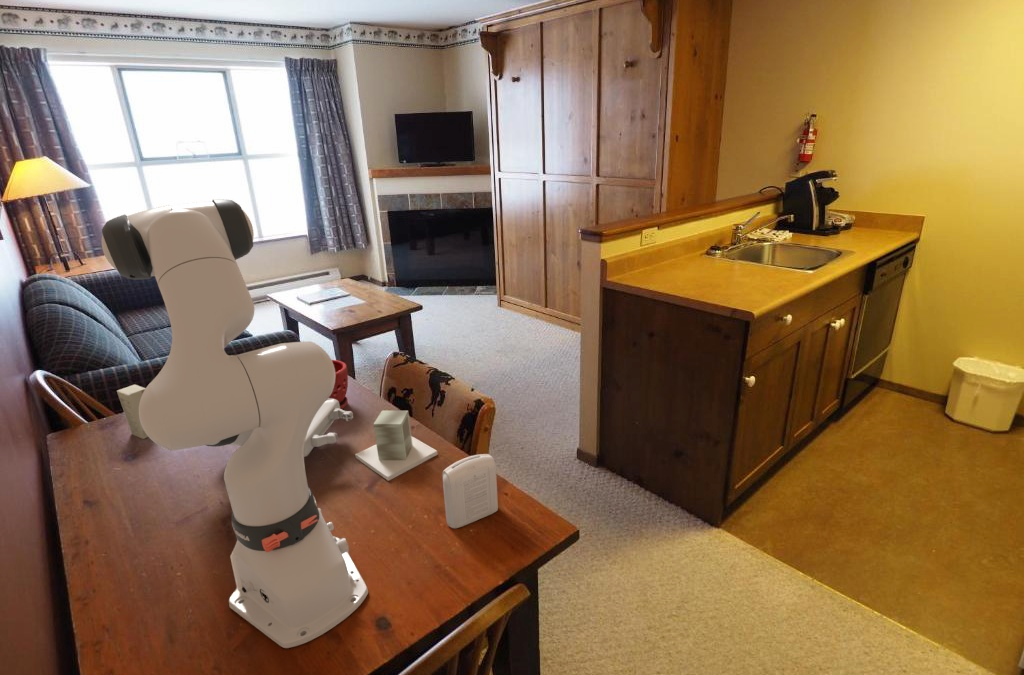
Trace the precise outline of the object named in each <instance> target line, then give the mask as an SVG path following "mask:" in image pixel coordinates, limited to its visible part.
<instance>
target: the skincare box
mask: <svg viewBox="0 0 1024 675" xmlns="http://www.w3.org/2000/svg"><path fill="white" fill-rule="evenodd" d="M145 389H146V387H143V386H140V385H138V384H132V385H129V386H127V387H123V388H120V389H118V390H116V392H117V396H118V400H119V401H120V405H121V407H122V409H123V413H124V416H125V418H126V422H127V423H128V427H129V430H130V433H131V435H133V436H135V437H137V438H140V439H142V440H144V439H147V438H149V437H148V436H147V434H146V433H145V431H144V430H143V428H142V426H141V423H140V419H139V403H140V399H141V397H142V394H143V392H144V390H145Z"/></svg>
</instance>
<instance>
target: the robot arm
mask: <svg viewBox="0 0 1024 675" xmlns="http://www.w3.org/2000/svg"><path fill="white" fill-rule="evenodd" d="M101 233H102V235H101V247H102V248H101V249H102V252H103V255H104V257H105V259H106V260H107V262H108V263H109V265H110V266H111V267H112V268H114V269H115V270H116V271H117V272H118V274H119V275H120V276H121V277H125V278H126V279H128V280H135V281H137V280H150V279H152V277H155V280H156V282H157V286H158V289H159V291H160V294H161V297H162V299H163V302H164V305H165V306H164V307H165V309H166V311H167V315H168V319H169V323H170V327H171V328H170V329H171V336H172V337H171V347H170V351H169V354H168V357H167V359H166V361H165V363H164V365H163V367H162V368H161V370H160V371H159V372H158V374H157V375H156V376H155V377H154V378H153V379H152V380H151V381H150V382H149V384H148V385H147V386H146V387H145V388H146V389H145V390H144V392H143V394H142V397H141V399H140V403H139V419H140V423H141V426H142V428H143V430H144V431H145V433H146V434H147V436H148V437H147V438H149V439H150V441H152V442H153V443H155V444H156V445H158V446H159V447H161V448H162V449H166V450H167V451H170V452H171V451H178V450H179V451H180V450H186V449H193V448H197V447H203V446H207V447H215V448H216V447H224V446H235V447H236V446H237V447H238V448H237V449H236V450H235V451H234V452H233V453H232V454H231V456H230V457H229V459H228V460H227V463H226V466H225V468H224V473H223V481H224V483H225V484H224V486H225V488H226V492H227V495H228V498H229V499H228V500H229V504H230V506H231V509H232V510H231V514H230V515H231V517H230V518H231V525H232V526H231V527H232V530H233V531H234V534H235V537H236V542H235V545H234V547H233V550H232V551H231V554H230V556H229V557H230V561H231V566H232V571H233V576H234V581H235V586H236V588H235V590H234V591H233V593H231V595H230V597H229V599H228V604H229V605H228V606H229V608H230V609H231V610H232V611H234V612H235V613H237V614H238V615H239V616H240V617H242V618H243V619H244V620H246V621H247V622H248V623H249V624H250V625H252V626H253V627H255V628H256V629H257V630H259V631H260V632H261V633H262V634H264V635H265V636H266V637H267V638H269V639H271V640H272V641H273V642H274V643H276V644H277V645H278V646H279V647H282V648H284V649H289V648H295V647H298V646H301V645H304V644H306V643H308V642H310V641H313V640H314V639H316V638H318V637H320V636H322V635H324V634H325V633H327V632H329V631H330V630H331V629H333V628H335V627H336V626H337V625H339V624H340V623H341V622H343V621H344V620H346V619H347V618H348V617H349V616H350V615H351V614H353V613H354V612H355V611H356V610H357V609H358V608H359V607H360V606H361V604H362V603H363V602H364V601H365V599H366V597H367V595H369V590H368V586H367V585H366V582H365V579H363V577H362V574H360V572H359V570H358V567H357V566H356V565H355V562H354V561H353V559H352V558H351V556H350V553H349V551H350V549H349V548H350V546H349V544H348V541H347V540H346V537H342V538H339V537H338V536H337V537H336V536H335V535H333V533H332V532H331V531H333V530H334V529H335V526H334V523H333V522H332V521H329V522H326V520H325V518H324V515H323V513H322V509H321V508H319V507H318V503H317V501H316V498H315V496H314V494H313V492H312V488H310V486H309V485H308V479H307V474H306V473H307V472H306V466H305V457H308V456H309V454H310V453H311V452H312V451H313V449H314V448H315V447H320V446H324V445H328V444H335V443H337V440H338V439H339V437H338V434H337V433H336V432H328V433H327V434H325V433H326V432H327V431H328V430H329V428H330V427H331V426H332V424H333V423H334V422H335V420H339V419H343V422H351V421H352V420H353V418H354V412H353V411H351V410H343V409H340V405H339V401H338V400H336V399H332V398H329V397H330V395H331V393H332V391H333V389H334V385H335V378H336V375H335V368H334V365H333V362H332V360H333V359H332V358H331V356H330V355H329V354H328V352H327V351H326V350H325V349H324V348H322V346H320V345H318V344H317V343H315V342H313V341H292V342H283V343H277V344H274V345H273V344H272V345H269V346H265V347H262V348H257V349H254V350H251V351H250V350H249V351H247V352H243V353H240V354H231V355H229V354H227V353H226V351H225V348H226V347H227V346H228V345H229V344H230V343H231V342H232V341H233V340H235V339H236V338H238V337H239V336H240V335H242V333H243V332H244V331H245V330H246V329H247V328H248V327H249V326H250V324H251V323H252V321H253V318H254V316H255V303H254V301H253V298H252V297H251V294H250V291H249V289H248V287H247V284H246V282H245V280H244V277H243V275H242V272H241V270H240V267H239V265H238V262H237V261H236V260H239V259H241V258H243V257H245V256H246V255H249V253H250V252H251V250H252V248H253V247H254V235H255V234H254V227H253V224H252V221H251V219H250V218H249V216H248V215H247V213H246V211H244V209H243V208H242V207H241V205H240V204H239V203H237V202H236V201H234V200H233V199H219V198H218V199H212V201H201V202H199V201H198V202H190V203H182V204H176V205H175V204H174V205H170V204H168V205H163V206H159V207H154V208H150V209H147V210H142V211H138V212H135V213H133V214H130V215H127V214H122V215H119V216H117V217H113V218H112V219H110V220H107V221H106V222H105V224H104V225H103V226H102V228H101Z"/></svg>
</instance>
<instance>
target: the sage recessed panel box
mask: <svg viewBox="0 0 1024 675" xmlns="http://www.w3.org/2000/svg"><path fill="white" fill-rule="evenodd" d="M373 429H374V436H375V442H376V443H375V445H376V444H377V451H378V457H379V460H406V459H407V456H408V454H409V452H410V450H411V448H412V446H413V445H412V437H413V436H412V430H411V422H410V414H409V410H381V412H380V413H379V414H378V416H377V418H376V419H375V421H374V422H373ZM411 436H412V437H411Z"/></svg>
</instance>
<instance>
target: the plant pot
mask: <svg viewBox="0 0 1024 675" xmlns="http://www.w3.org/2000/svg"><path fill="white" fill-rule="evenodd" d="M331 360H332V362H333V365H334V368H335V375H336V378H335V385H334V389H333V391H332V393H331V395H330V397H329V398H332V399H336V400H338V401H339V405H340V409H342V410H343V409H344V408H346V406H347V404H348V401H349V400H348V397H347V396H346V395H347V392H348V387H349V386H348V385H349V375H348V374H349V373H348V367H347V364H346V363H345V362H343V361H340V360H336V359H331Z"/></svg>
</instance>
